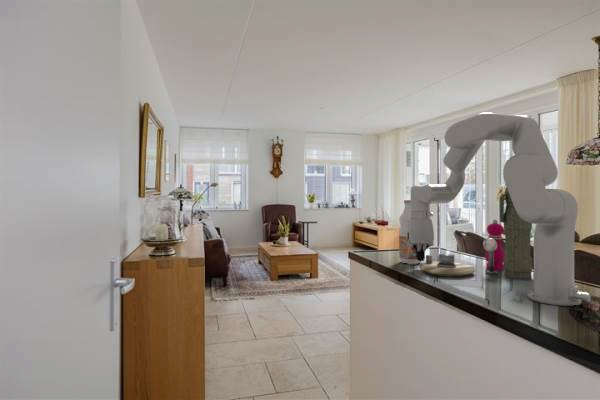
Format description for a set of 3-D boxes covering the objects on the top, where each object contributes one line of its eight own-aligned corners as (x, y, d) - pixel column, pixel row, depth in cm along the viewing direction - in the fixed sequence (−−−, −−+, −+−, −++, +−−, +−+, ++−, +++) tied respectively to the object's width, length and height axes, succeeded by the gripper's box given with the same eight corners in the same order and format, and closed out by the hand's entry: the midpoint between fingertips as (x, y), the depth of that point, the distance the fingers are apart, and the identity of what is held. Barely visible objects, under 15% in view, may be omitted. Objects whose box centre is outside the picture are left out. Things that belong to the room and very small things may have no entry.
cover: (459, 266, 142) (459, 255, 141) (447, 268, 138) (447, 256, 138) (445, 264, 148) (445, 252, 147) (433, 265, 144) (433, 254, 144)
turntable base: (478, 273, 140) (478, 271, 140) (449, 278, 132) (449, 276, 132) (443, 266, 154) (443, 264, 154) (415, 270, 146) (415, 268, 146)
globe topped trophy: (500, 273, 139) (500, 238, 139) (494, 275, 137) (494, 239, 137) (488, 271, 144) (488, 237, 144) (482, 272, 142) (481, 237, 142)
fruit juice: (402, 260, 170) (402, 199, 170) (423, 262, 165) (423, 199, 165) (396, 263, 162) (396, 200, 162) (418, 265, 157) (417, 200, 157)
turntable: (486, 271, 139) (486, 259, 139) (450, 277, 130) (450, 265, 129) (442, 262, 157) (442, 252, 157) (408, 267, 147) (408, 257, 147)
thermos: (542, 279, 129) (542, 180, 129) (508, 280, 129) (508, 180, 129) (526, 274, 138) (526, 181, 138) (495, 274, 138) (494, 181, 138)
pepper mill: (508, 268, 149) (508, 219, 149) (499, 270, 145) (499, 220, 144) (491, 266, 155) (491, 218, 154) (481, 268, 151) (481, 219, 150)
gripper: (434, 215, 154) (434, 258, 154) (399, 215, 153) (399, 259, 153) (442, 215, 147) (442, 261, 147) (405, 216, 146) (405, 262, 146)
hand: (420, 260), depth 150 cm, fingers closed
